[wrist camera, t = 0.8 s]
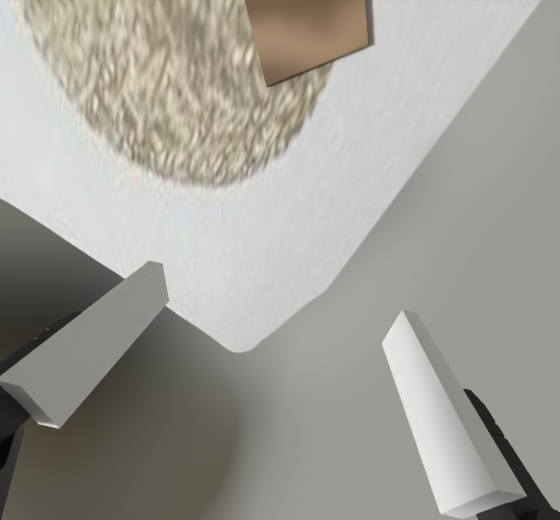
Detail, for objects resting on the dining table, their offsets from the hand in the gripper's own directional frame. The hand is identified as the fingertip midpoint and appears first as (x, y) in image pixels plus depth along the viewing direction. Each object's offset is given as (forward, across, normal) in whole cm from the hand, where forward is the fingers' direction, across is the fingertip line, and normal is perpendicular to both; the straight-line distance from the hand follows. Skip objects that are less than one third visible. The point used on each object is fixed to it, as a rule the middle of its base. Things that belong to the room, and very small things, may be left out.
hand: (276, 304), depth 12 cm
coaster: (+25, -3, +21) cm, 33 cm away
